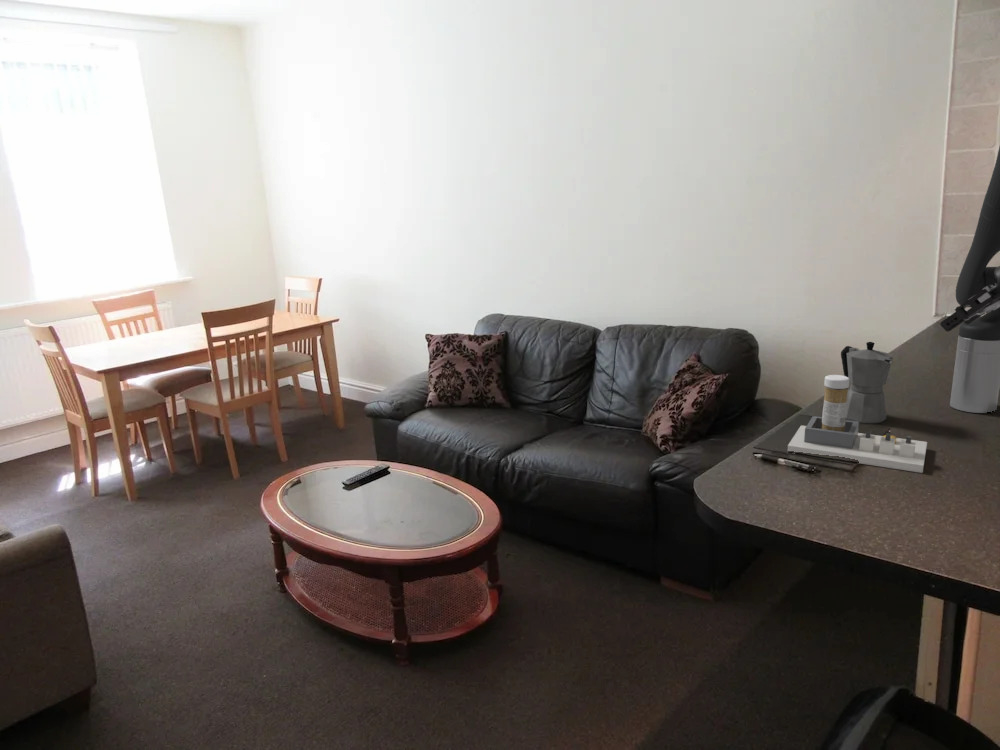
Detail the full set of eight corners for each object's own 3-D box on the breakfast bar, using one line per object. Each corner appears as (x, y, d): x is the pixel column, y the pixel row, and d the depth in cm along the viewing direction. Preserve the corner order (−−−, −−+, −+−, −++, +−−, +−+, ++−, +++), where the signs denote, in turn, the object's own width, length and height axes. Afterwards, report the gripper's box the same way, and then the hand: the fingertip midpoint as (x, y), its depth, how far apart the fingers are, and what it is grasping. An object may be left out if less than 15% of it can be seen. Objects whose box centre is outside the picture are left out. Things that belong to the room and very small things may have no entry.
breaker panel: (800, 431, 155) (802, 409, 154) (926, 448, 142) (929, 425, 141) (787, 452, 144) (788, 428, 142) (922, 472, 131) (925, 447, 130)
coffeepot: (902, 423, 157) (911, 345, 152) (866, 428, 155) (873, 349, 151) (854, 404, 172) (860, 333, 167) (820, 408, 170) (826, 336, 165)
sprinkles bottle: (832, 434, 149) (837, 373, 145) (849, 440, 144) (854, 378, 141) (815, 437, 147) (819, 375, 144) (831, 444, 143) (837, 380, 140)
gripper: (1034, 247, 126) (956, 303, 138) (1003, 256, 118) (923, 314, 130) (1065, 279, 124) (983, 333, 136) (1035, 289, 116) (950, 346, 128)
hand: (953, 324), depth 133 cm, fingers open, 8 cm apart
